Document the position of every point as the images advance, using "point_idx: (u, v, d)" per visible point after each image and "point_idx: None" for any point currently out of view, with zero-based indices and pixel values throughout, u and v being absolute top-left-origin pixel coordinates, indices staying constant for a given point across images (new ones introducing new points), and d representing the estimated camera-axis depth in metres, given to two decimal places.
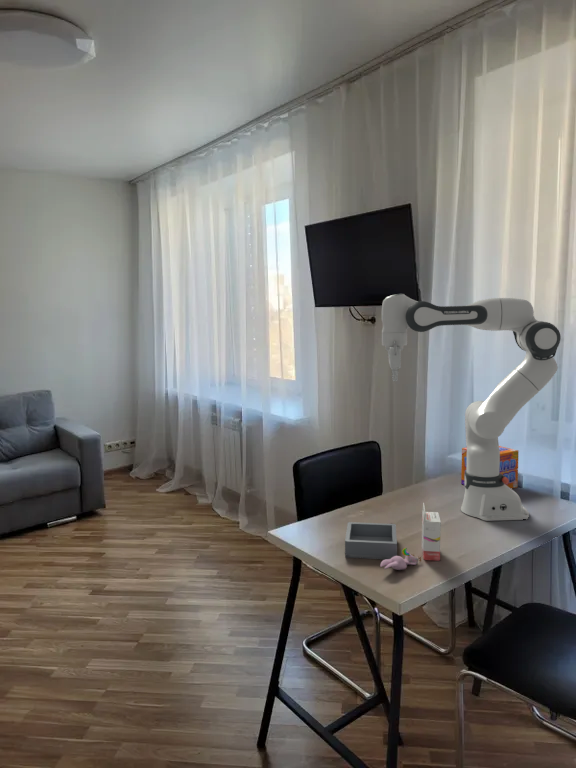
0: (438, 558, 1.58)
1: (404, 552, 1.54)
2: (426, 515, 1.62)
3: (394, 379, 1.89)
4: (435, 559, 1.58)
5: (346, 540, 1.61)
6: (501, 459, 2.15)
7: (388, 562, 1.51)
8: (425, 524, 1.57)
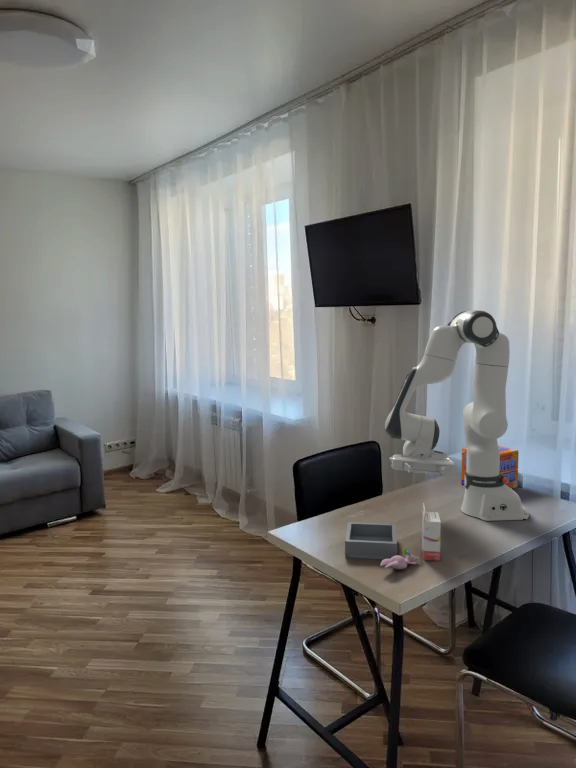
0: (438, 558, 1.58)
1: (404, 551, 1.54)
2: (426, 515, 1.62)
3: (408, 470, 1.73)
4: (435, 559, 1.58)
5: (346, 540, 1.61)
6: (501, 459, 2.15)
7: (388, 561, 1.52)
8: (425, 524, 1.57)
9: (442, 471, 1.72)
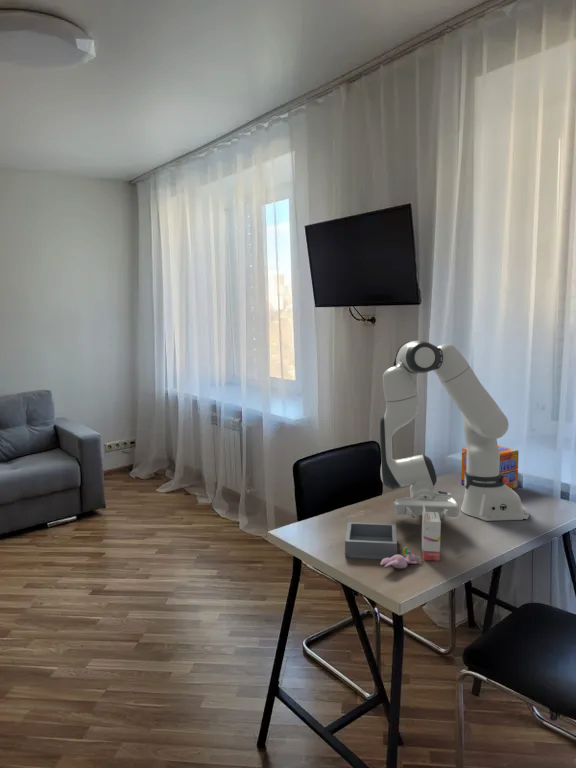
0: (438, 558, 1.58)
1: (405, 551, 1.55)
2: (426, 515, 1.62)
3: (410, 515, 1.73)
4: (435, 559, 1.58)
5: (346, 540, 1.61)
6: (501, 459, 2.15)
7: (388, 560, 1.52)
8: (425, 524, 1.57)
9: (444, 515, 1.70)
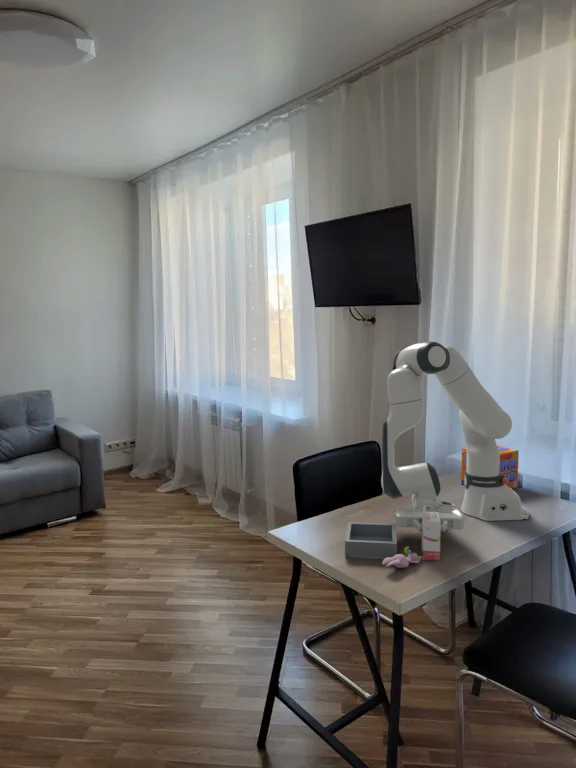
0: (438, 558, 1.58)
1: (406, 550, 1.55)
2: (426, 515, 1.62)
3: (417, 528, 1.62)
4: (435, 559, 1.58)
5: (346, 540, 1.61)
6: (501, 459, 2.15)
7: (390, 560, 1.52)
8: (425, 524, 1.57)
9: (443, 527, 1.60)
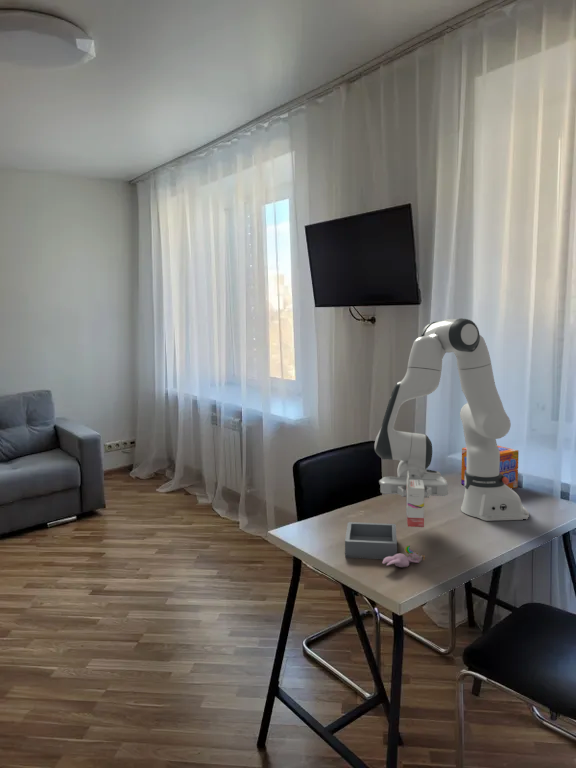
0: (422, 524, 1.58)
1: (407, 550, 1.55)
2: (410, 482, 1.62)
3: (401, 494, 1.62)
4: (419, 525, 1.58)
5: (346, 540, 1.61)
6: (501, 459, 2.15)
7: (390, 559, 1.53)
8: (409, 491, 1.57)
9: (427, 493, 1.60)
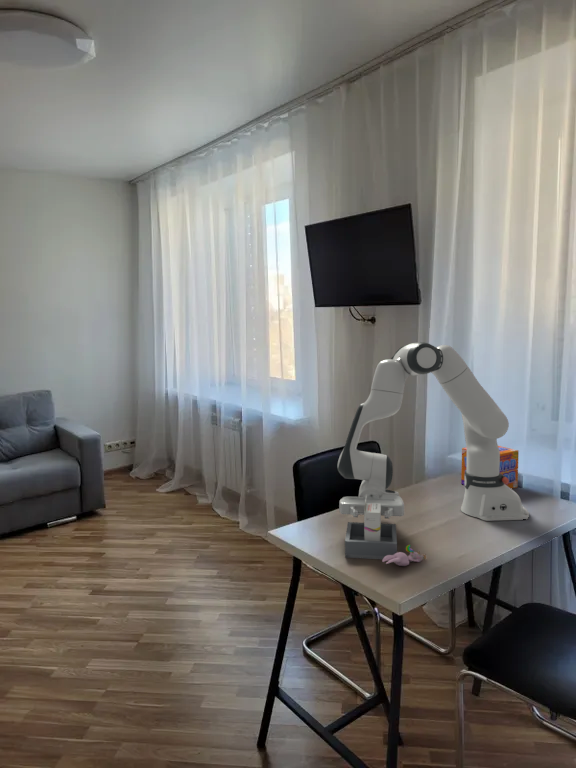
0: None
1: (408, 549, 1.56)
2: (368, 506, 1.68)
3: (353, 514, 1.68)
4: None
5: (346, 540, 1.61)
6: (501, 459, 2.15)
7: (390, 558, 1.54)
8: (365, 515, 1.63)
9: (387, 514, 1.65)
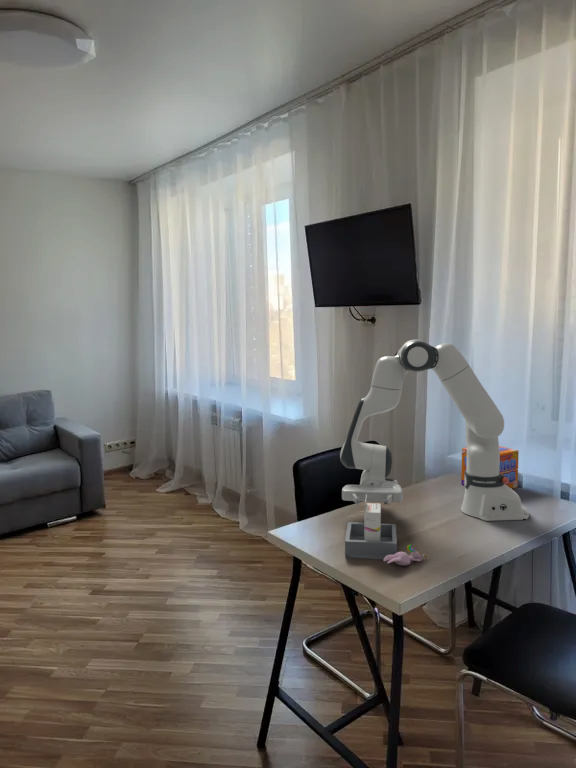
0: None
1: (409, 548, 1.56)
2: (368, 506, 1.68)
3: (355, 501, 1.80)
4: None
5: (346, 540, 1.61)
6: (501, 459, 2.15)
7: (392, 557, 1.54)
8: (365, 515, 1.63)
9: (387, 500, 1.77)
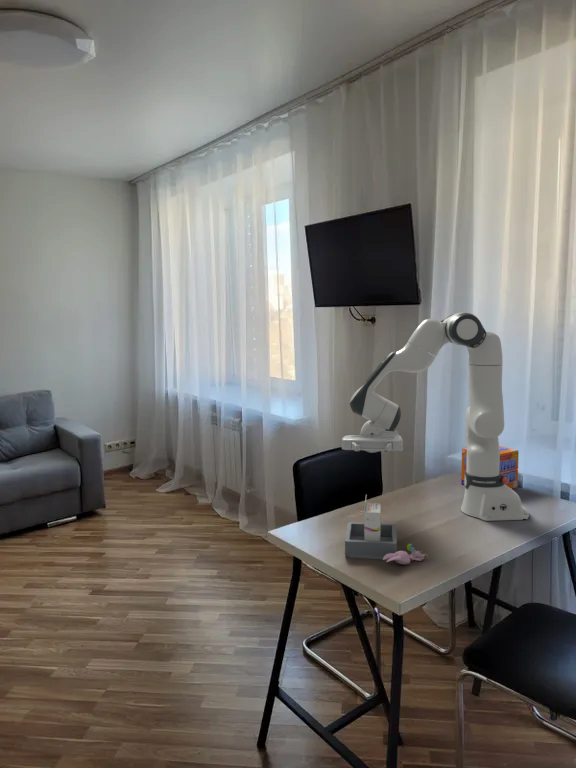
0: None
1: (409, 547, 1.57)
2: (368, 506, 1.68)
3: (354, 448, 1.78)
4: None
5: (346, 540, 1.61)
6: (501, 459, 2.15)
7: (391, 556, 1.55)
8: (365, 515, 1.63)
9: (387, 447, 1.75)
